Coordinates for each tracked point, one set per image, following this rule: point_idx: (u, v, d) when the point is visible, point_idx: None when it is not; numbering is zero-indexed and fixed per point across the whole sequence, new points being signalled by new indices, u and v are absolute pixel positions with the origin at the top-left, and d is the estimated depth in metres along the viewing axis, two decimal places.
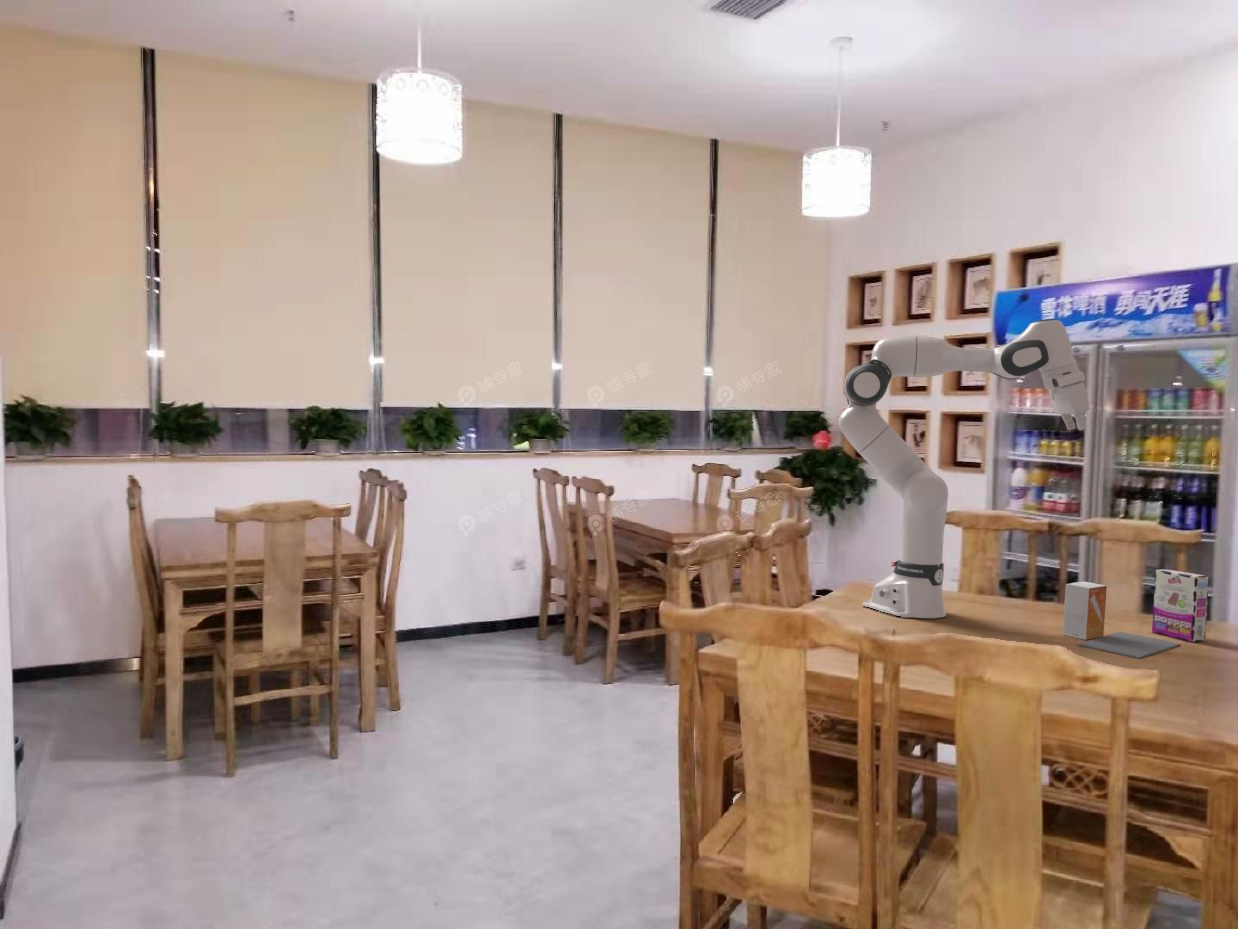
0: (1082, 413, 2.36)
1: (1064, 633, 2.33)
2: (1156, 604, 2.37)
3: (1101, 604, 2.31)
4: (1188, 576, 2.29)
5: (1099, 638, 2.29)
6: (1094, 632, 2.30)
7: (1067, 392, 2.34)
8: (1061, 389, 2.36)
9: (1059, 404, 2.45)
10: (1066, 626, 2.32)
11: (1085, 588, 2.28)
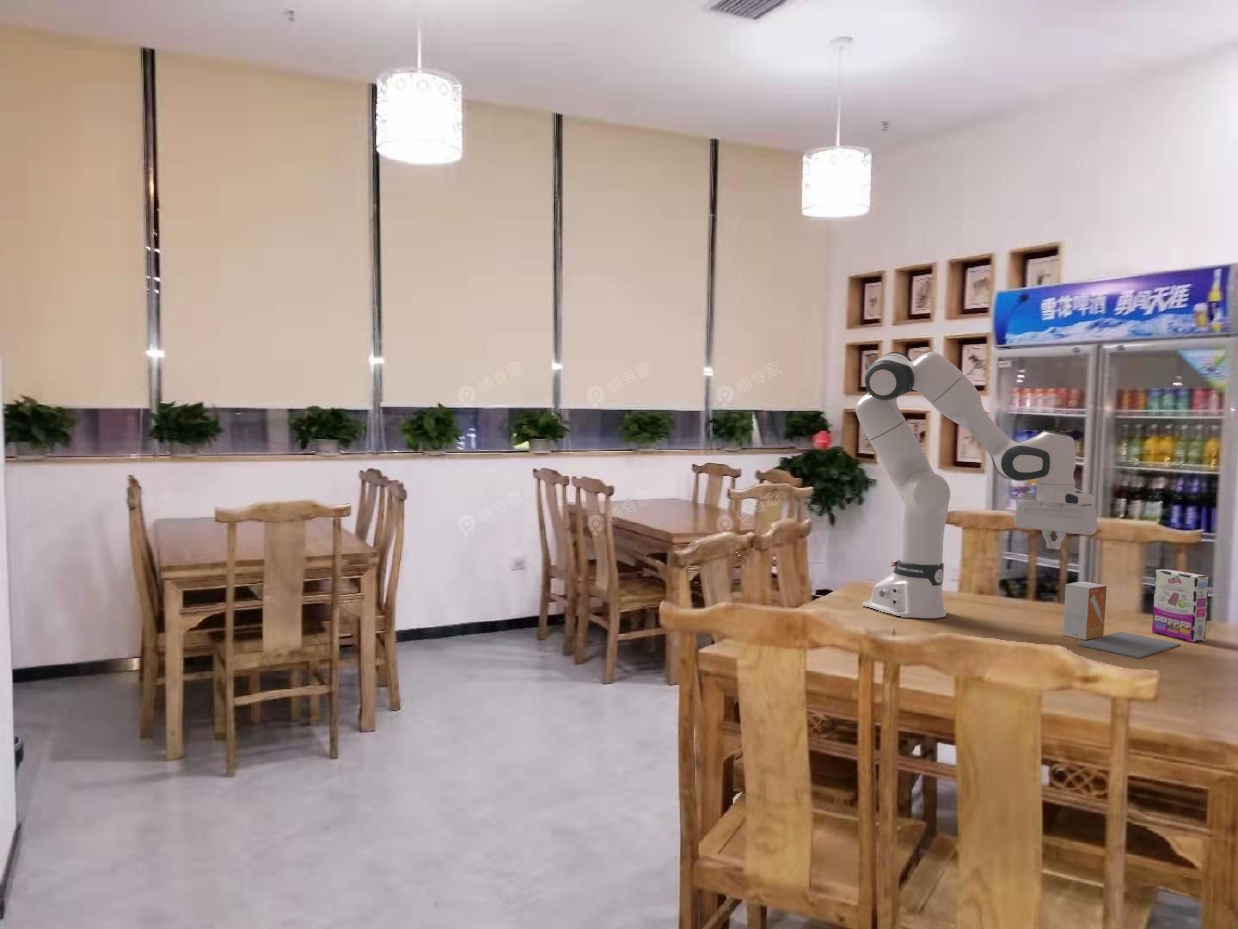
0: (1064, 533, 2.37)
1: (1064, 633, 2.33)
2: (1156, 604, 2.37)
3: (1101, 604, 2.31)
4: (1188, 576, 2.29)
5: (1099, 638, 2.29)
6: (1094, 632, 2.30)
7: (1087, 512, 2.29)
8: (1077, 507, 2.31)
9: (1042, 519, 2.39)
10: (1066, 626, 2.32)
11: (1085, 588, 2.28)
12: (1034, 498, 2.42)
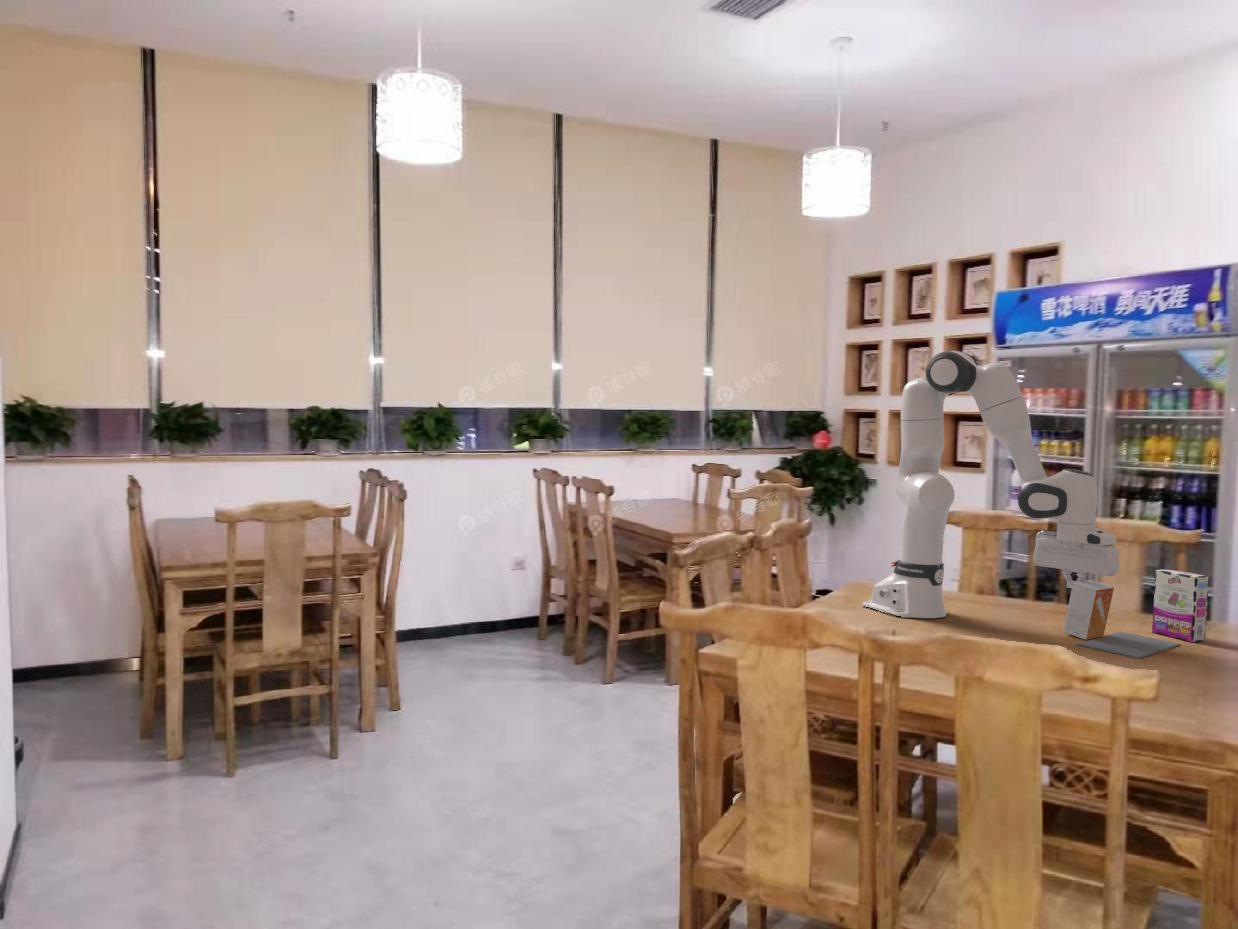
0: (1085, 573, 2.33)
1: (1065, 630, 2.33)
2: (1156, 604, 2.37)
3: (1106, 605, 2.30)
4: (1188, 576, 2.29)
5: (1099, 638, 2.29)
6: (1094, 632, 2.30)
7: (1110, 553, 2.25)
8: (1099, 547, 2.27)
9: (1062, 558, 2.35)
10: (1068, 623, 2.32)
11: (1092, 589, 2.27)
12: (1054, 536, 2.38)
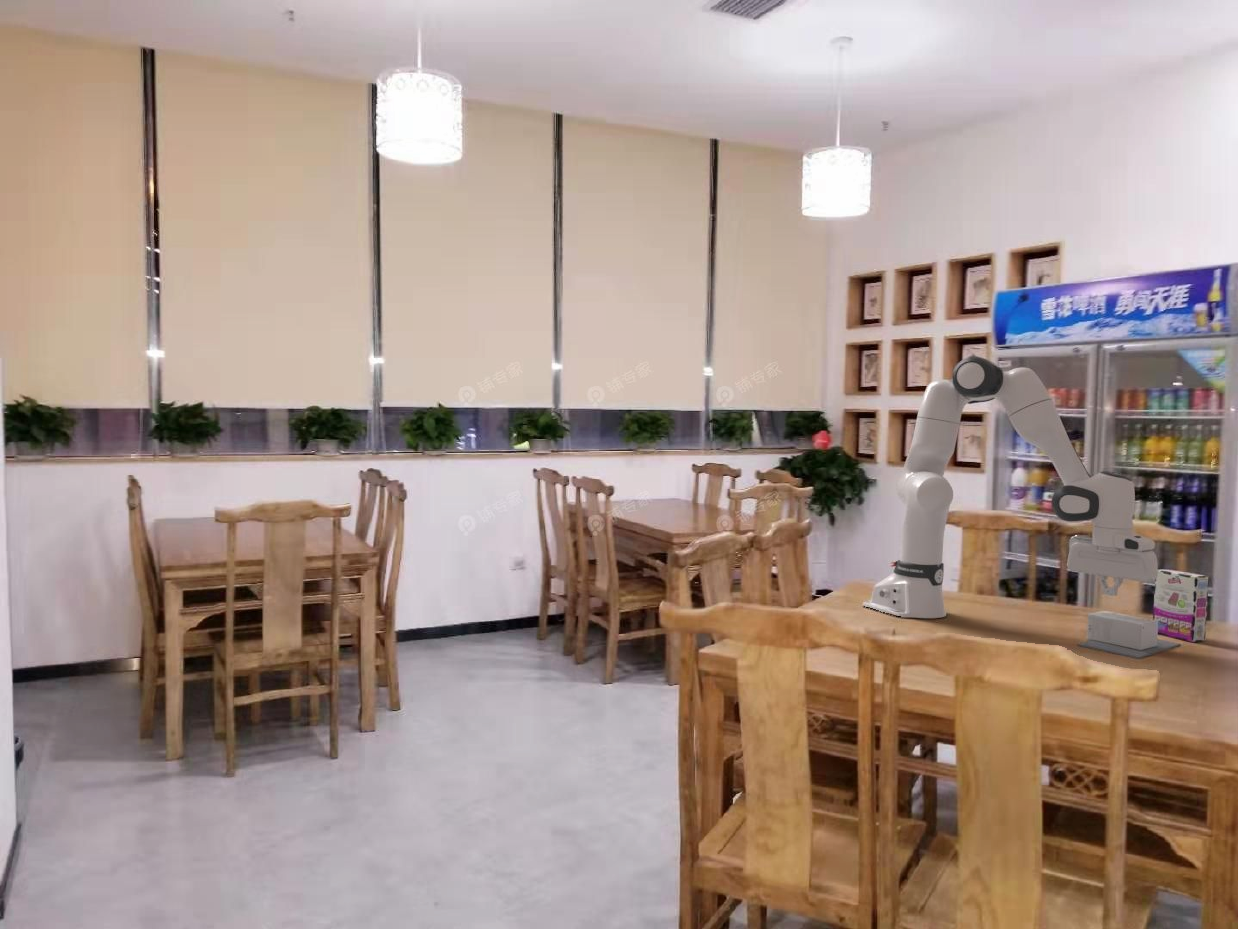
0: (1122, 579, 2.26)
1: (1089, 616, 2.27)
2: (1156, 604, 2.37)
3: None
4: (1188, 576, 2.29)
5: None
6: None
7: (1148, 558, 2.18)
8: (1138, 553, 2.20)
9: (1098, 564, 2.28)
10: (1096, 619, 2.26)
11: (1139, 645, 2.18)
12: (1089, 541, 2.31)
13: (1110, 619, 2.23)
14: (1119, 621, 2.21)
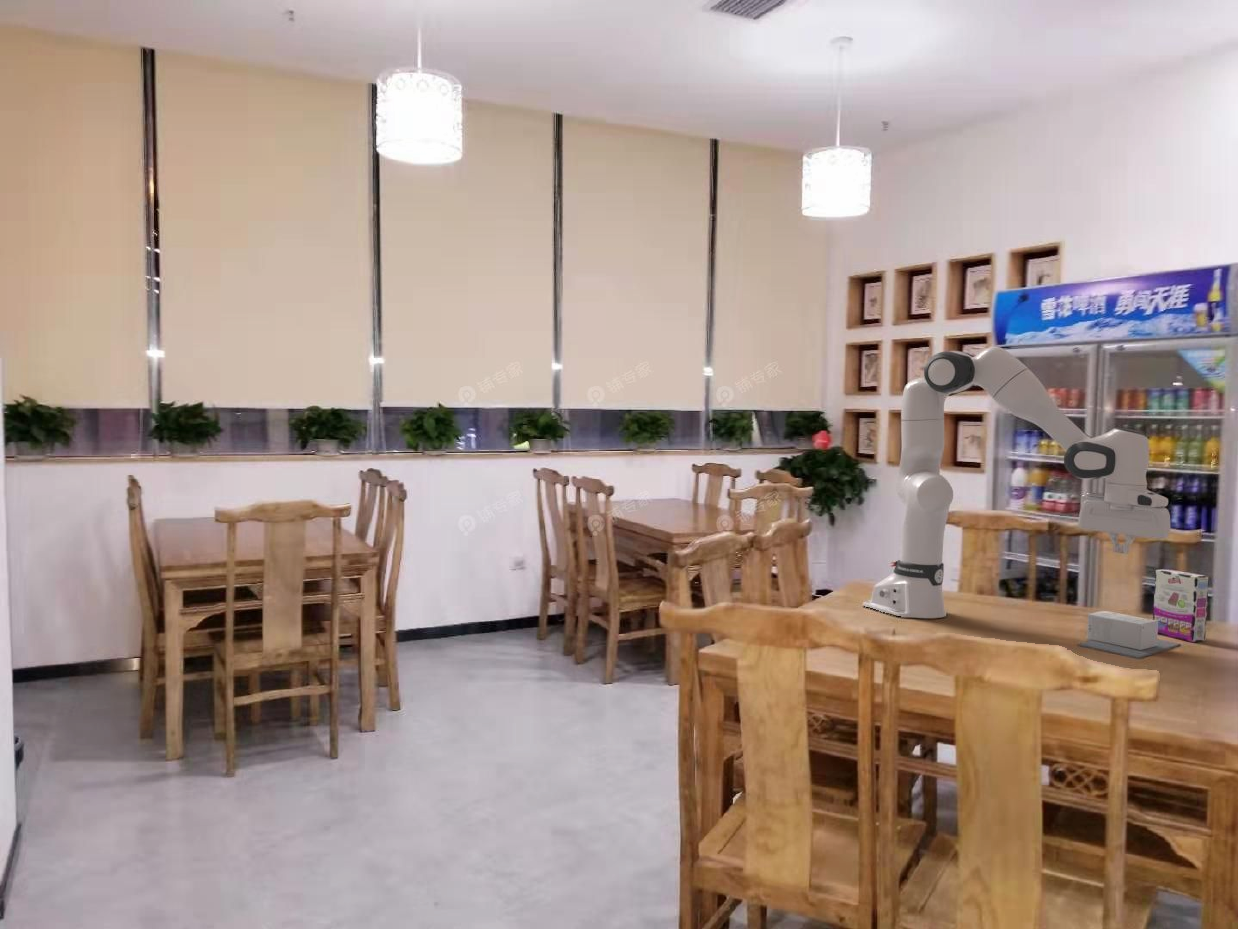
0: (1133, 537, 2.23)
1: (1089, 616, 2.27)
2: (1156, 604, 2.37)
3: None
4: (1188, 576, 2.29)
5: None
6: None
7: (1161, 514, 2.16)
8: (1150, 509, 2.17)
9: (1109, 521, 2.25)
10: (1096, 619, 2.26)
11: (1139, 645, 2.18)
12: (1101, 499, 2.28)
13: (1110, 619, 2.23)
14: (1119, 621, 2.21)
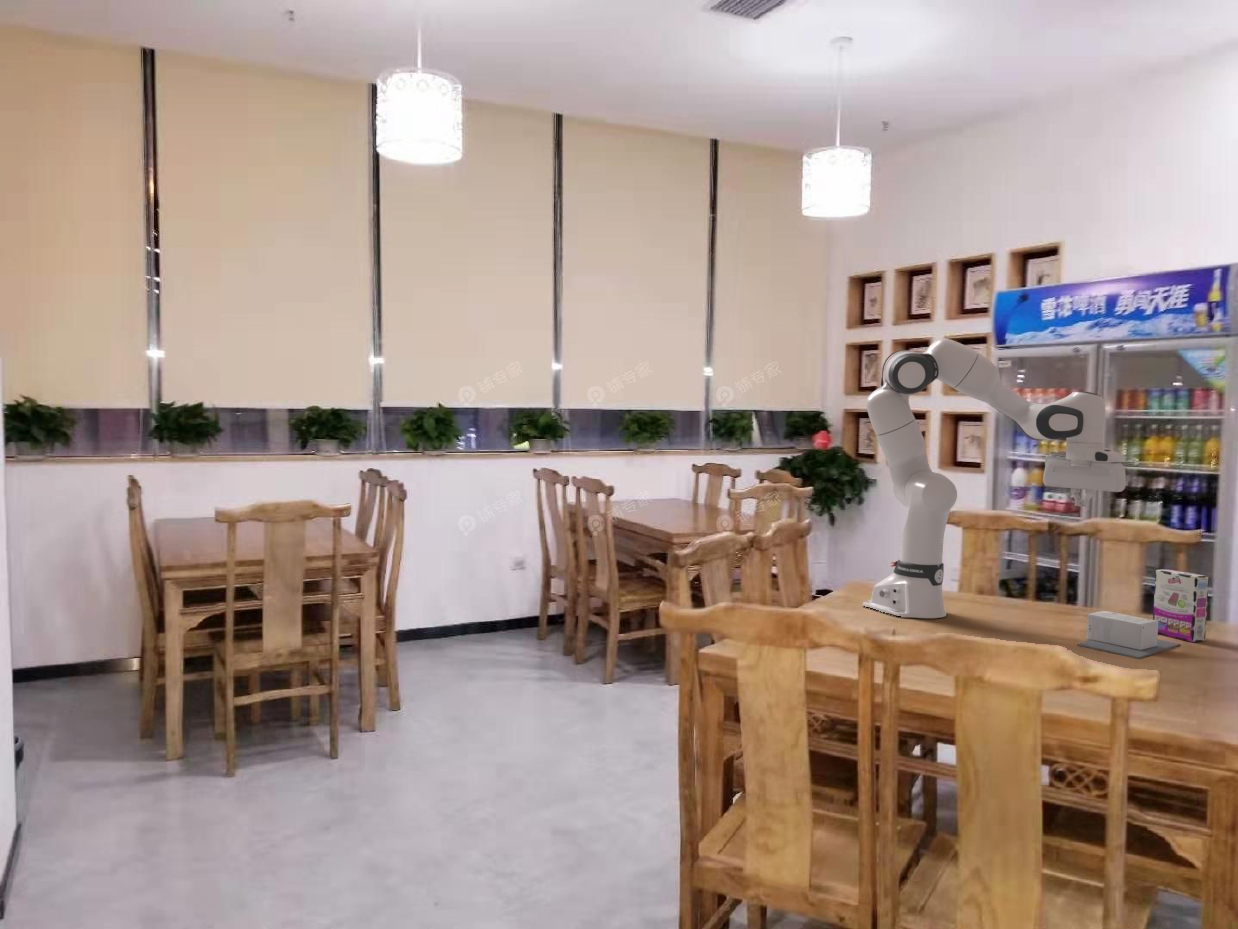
0: (1093, 491, 2.43)
1: (1089, 616, 2.27)
2: (1156, 604, 2.37)
3: None
4: (1188, 576, 2.29)
5: None
6: None
7: (1117, 469, 2.35)
8: (1107, 464, 2.36)
9: (1071, 477, 2.45)
10: (1096, 619, 2.26)
11: (1139, 645, 2.18)
12: (1063, 457, 2.48)
13: (1110, 619, 2.23)
14: (1119, 621, 2.21)
